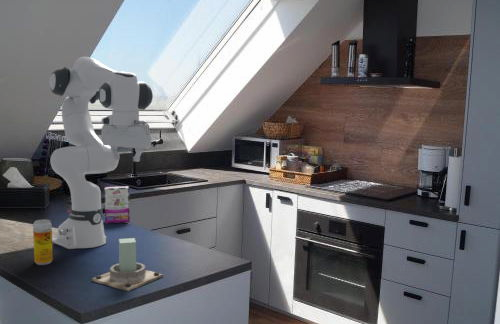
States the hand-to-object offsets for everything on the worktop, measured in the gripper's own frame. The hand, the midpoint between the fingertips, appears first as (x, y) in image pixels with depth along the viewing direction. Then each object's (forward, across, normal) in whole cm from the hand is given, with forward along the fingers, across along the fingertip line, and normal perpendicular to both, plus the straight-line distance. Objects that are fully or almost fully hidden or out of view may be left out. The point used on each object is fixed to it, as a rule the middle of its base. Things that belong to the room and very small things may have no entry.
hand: (126, 160), depth 186 cm
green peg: (+36, -10, +10) cm, 39 cm away
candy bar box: (+37, +48, -42) cm, 74 cm away
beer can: (+37, +26, +15) cm, 48 cm away
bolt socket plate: (+37, -10, +10) cm, 40 cm away
